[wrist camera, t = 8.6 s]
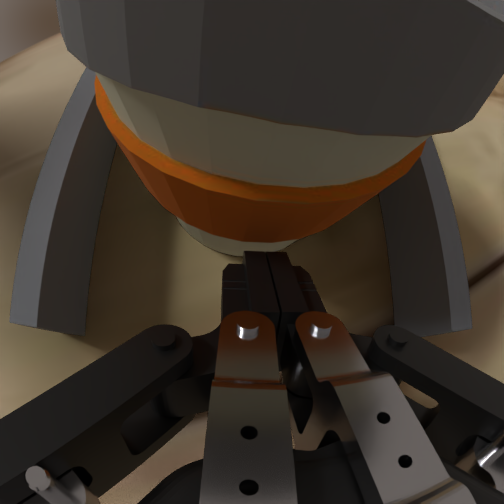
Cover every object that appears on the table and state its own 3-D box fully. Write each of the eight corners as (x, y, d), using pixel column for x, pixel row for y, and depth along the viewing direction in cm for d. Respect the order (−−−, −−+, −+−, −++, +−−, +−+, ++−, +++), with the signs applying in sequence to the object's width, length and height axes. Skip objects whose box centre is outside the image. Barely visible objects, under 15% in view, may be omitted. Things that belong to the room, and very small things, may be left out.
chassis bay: (415, 337, 16) (483, 326, 11) (61, 332, 14) (-2, 319, 8) (369, 95, 22) (397, 45, 16) (122, 76, 20) (109, 18, 14)
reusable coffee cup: (128, 127, 18) (83, -87, 4) (303, 98, 21) (368, -83, 6) (161, 317, 15) (-101, 88, 1) (377, 256, 17) (586, 93, 3)
